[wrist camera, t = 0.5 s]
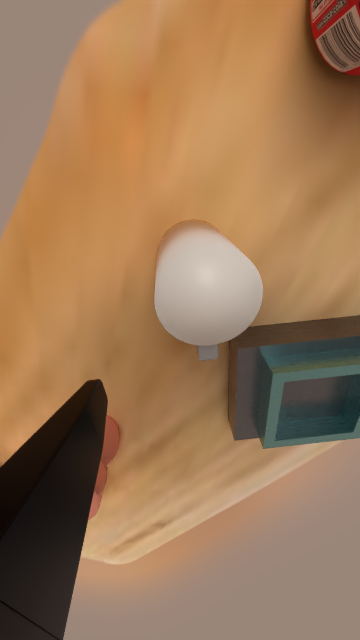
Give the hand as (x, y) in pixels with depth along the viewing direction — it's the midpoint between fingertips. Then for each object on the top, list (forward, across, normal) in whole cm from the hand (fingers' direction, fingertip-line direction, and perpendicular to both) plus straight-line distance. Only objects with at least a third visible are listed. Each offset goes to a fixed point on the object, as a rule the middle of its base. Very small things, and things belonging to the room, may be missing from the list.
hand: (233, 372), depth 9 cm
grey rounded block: (+13, 0, 0) cm, 13 cm away
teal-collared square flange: (+13, -10, +13) cm, 21 cm away
